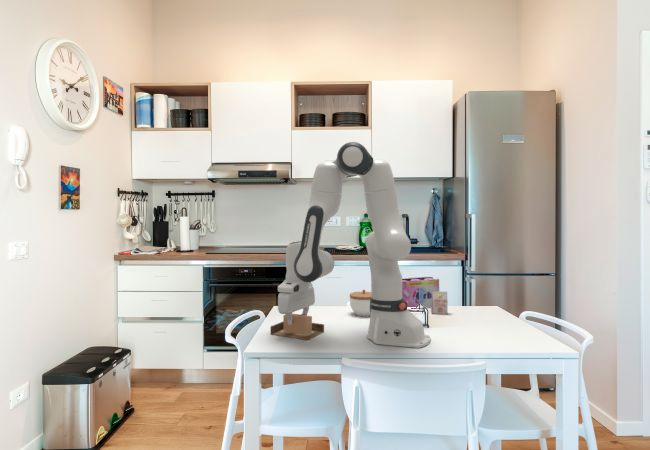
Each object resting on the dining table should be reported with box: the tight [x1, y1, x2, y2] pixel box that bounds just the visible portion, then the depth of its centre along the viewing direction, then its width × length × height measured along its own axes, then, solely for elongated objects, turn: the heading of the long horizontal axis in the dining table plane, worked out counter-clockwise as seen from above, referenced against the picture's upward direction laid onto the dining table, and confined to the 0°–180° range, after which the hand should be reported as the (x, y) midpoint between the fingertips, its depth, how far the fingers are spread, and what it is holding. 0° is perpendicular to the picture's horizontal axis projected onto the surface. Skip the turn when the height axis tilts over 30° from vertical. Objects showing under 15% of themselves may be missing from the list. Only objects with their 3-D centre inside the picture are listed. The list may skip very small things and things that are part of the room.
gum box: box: [402, 276, 440, 309], centre depth 198 cm, size 24×8×14 cm, turn 110°
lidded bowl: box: [349, 289, 371, 317], centre depth 182 cm, size 13×13×11 cm
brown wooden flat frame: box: [270, 321, 325, 341], centre depth 153 cm, size 16×12×3 cm
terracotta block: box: [282, 313, 313, 335], centre depth 153 cm, size 4×10×6 cm, turn 61°
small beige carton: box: [430, 290, 449, 316], centre depth 184 cm, size 4×7×10 cm, turn 79°
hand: (297, 321), depth 153 cm, fingers open, 8 cm apart
